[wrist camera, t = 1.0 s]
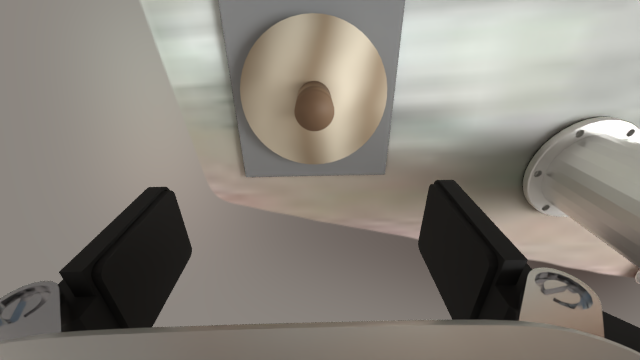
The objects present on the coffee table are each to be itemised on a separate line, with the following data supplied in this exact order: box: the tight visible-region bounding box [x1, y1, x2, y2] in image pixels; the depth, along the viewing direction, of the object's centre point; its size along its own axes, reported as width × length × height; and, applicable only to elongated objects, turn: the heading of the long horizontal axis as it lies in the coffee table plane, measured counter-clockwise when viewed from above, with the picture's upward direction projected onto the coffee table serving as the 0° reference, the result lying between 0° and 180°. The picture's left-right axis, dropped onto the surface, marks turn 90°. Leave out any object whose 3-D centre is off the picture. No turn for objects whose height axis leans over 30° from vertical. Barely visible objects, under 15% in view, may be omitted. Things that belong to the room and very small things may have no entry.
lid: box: [240, 13, 387, 164], centre depth 25 cm, size 14×14×6 cm
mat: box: [218, 0, 405, 177], centre depth 28 cm, size 16×18×1 cm
